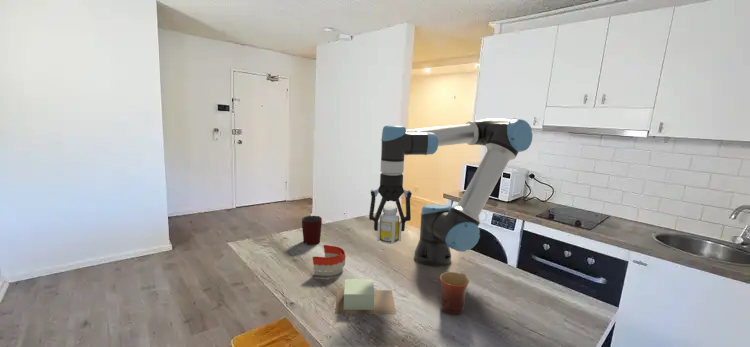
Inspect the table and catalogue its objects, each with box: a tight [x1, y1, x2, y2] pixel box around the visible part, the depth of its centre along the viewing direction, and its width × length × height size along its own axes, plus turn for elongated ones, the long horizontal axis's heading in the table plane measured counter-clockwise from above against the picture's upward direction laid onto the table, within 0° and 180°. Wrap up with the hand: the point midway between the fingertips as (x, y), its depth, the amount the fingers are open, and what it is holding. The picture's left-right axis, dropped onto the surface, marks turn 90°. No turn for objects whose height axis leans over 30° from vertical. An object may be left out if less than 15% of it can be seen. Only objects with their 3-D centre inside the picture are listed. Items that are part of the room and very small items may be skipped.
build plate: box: [334, 289, 397, 315], centre depth 103 cm, size 18×13×1 cm
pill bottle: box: [379, 205, 400, 245], centre depth 111 cm, size 6×6×12 cm
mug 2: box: [439, 271, 470, 315], centre depth 102 cm, size 12×9×10 cm
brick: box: [343, 278, 375, 310], centre depth 102 cm, size 9×9×5 cm
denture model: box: [312, 244, 347, 277], centre depth 122 cm, size 12×10×8 cm
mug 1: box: [301, 215, 323, 246], centre depth 151 cm, size 12×9×11 cm
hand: (388, 239), depth 112 cm, fingers closed on pill bottle, 6 cm apart
